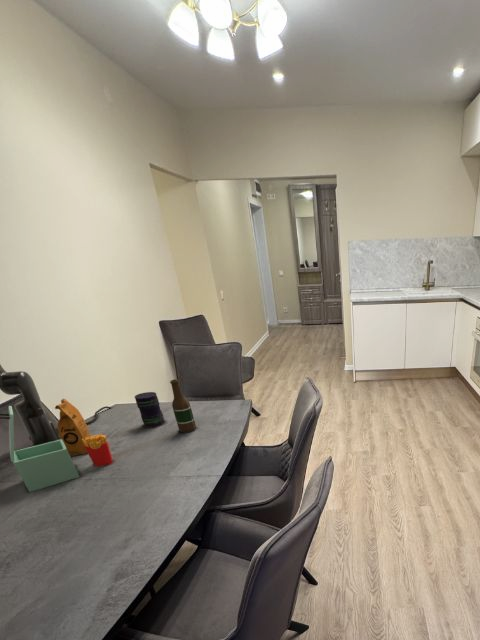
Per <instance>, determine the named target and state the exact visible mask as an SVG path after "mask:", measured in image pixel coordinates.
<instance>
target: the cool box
mask: <svg viewBox="0 0 480 640" xmlns="http://www.w3.org/2000/svg"><path fill="white" fill-rule="evenodd" d="M12 463H13V465H14V467H15V468H16V470H17V472H18V474H19V476H20V477H21V480H22V481H23V483H24V485H25V487H26V489H27V490H28V492H29V493H30V492H34V491H38V490H40V489H41V490H42V489H44V488H47V487H50V486H54V485H57V484H60V483H64V482H67V481H70V480H74V479H77V478H80V475H79V472H78V471H77V468H76V466H75V464H74V461H73V460H72V456H71V455H69V453H68V451H67V449H66V447H65V444H64V442H63V440H62V439H61V438H60V440H57V441H53V442H49V443H45V444H41V445H37V446H34V445H33V446H29V447H25V448H21V449H17V450H14V462H12Z"/></svg>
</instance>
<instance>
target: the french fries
mask: <svg viewBox="0 0 480 640" xmlns="http://www.w3.org/2000/svg"><path fill="white" fill-rule="evenodd" d="M82 441H83V443H84V444H85V446H84V448H85V449H86V451H87V453H86V454H87V455H88V457H89V458H90V460H91V462H92V463H93V465H94V467H102V466H106V465H111V464H113V462H114V459H113V457H112V452H111V449H110V446H109V441H108V440H107V435H106V434H94V435H91V436H90V437H86V438H85V440H84V439H82Z"/></svg>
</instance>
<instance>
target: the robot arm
mask: <svg viewBox="0 0 480 640" xmlns="http://www.w3.org/2000/svg"><path fill="white" fill-rule="evenodd" d="M37 389H38V388H37V387H36V385H35V382H34V379H33V378H32V376H31V374H29V373H28V372H26V371H23V370H22V371H21V370H19V371H6V370H5V369H4V367H3V366H2V364H0V391H1V392H2V393H3V394H5V395H7V396H8V395H9V396H14V395H22V398H23V399H22V400H20V401H19V402H16V403H15V404H14V406H13V407H14V410H15V411H16V413H17V416H18V417H19V419H20V422H21V423H22V425H23V427H24V429H25V431H26V433H27V435H28V439H29V441H31V443H32V445H33V446H37V445H41V444H45V443H49V442H53V441H57V440H61V437H60V435H59V433H58V427H55V426H54V423H53V422H52V421H50V420H49V417H48V415H47V413H46V411H45V409H44V407H43V405H42V401H41V397H40V395H39V392H38V390H37ZM105 409H108V410H109V409H112V407H111V406H107V405H106V406H102V407H101V408H99V409H98V410H97V411H95V412H94V418H92V419H91V420H89V421H87V422H86V421H85V423H86V425H87V426H88V425H89V424H92V423H93V422H95V421H96V420H97V419H98V418H99V415H98V414H99V413H100V412H101V411H103V410H105Z"/></svg>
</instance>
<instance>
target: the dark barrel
mask: <svg viewBox="0 0 480 640" xmlns="http://www.w3.org/2000/svg"><path fill="white" fill-rule="evenodd" d="M134 400H135V402H136V407H137V408H138V410H139V412H140V417H141V421H142V423H143V426H144V427H145V428H156V427H159V426H162V425H164V424H165V423H166V422H165V417H164V414H163V411H162V409H161V407H160V401H159V397H158V395H157V392H155V391H148V392H147V391H145V392H142V393H137V394H136V395H134Z"/></svg>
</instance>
